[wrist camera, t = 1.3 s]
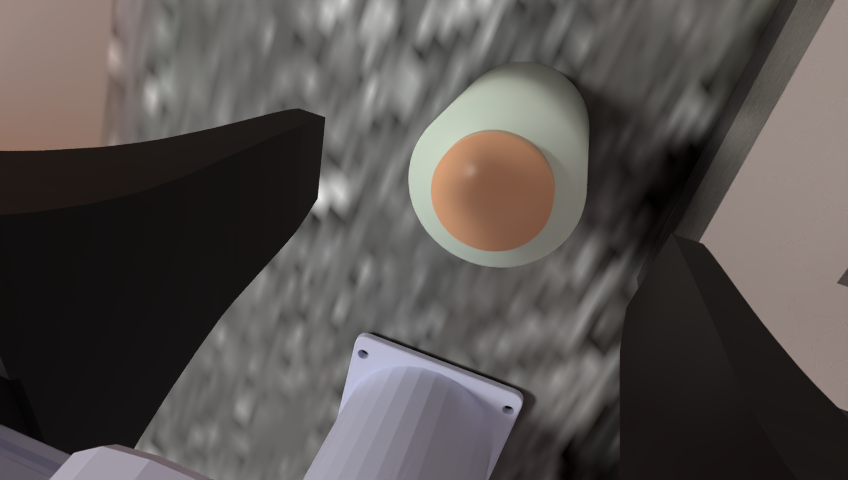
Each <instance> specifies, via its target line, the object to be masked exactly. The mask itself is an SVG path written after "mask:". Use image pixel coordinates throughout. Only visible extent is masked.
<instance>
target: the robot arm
mask: <svg viewBox="0 0 848 480" xmlns="http://www.w3.org/2000/svg"><path fill="white" fill-rule="evenodd" d="M324 125H325V117H323V116H320V115H317V114H314V113H311V112H308V111H305V110H302V109H299V108H298V109H290V110H285V111H280V112H276V113H271V114H267V115H263V116H259V117H256V118H252V119H248V120H244V121H240V122H236V123H232V124H228V125H224V126H220V127H216V128H212V129H207V130H203V131H198V132H193V133H188V134H184V135H179V136H174V137H170V138H164V139H159V140H153V141H146V142H140V143H132V144H124V145H116V146H107V147H95V148H80V149H79V148H78V149H63V150H45V151H0V480H214V479H211V478H209V477H207V476H204V475H202V474H200V473H197V472H195V471H193V470H190V469H188V468H186V467H183V466H181V465H179V464H176V463H174V462H172V461H169V460H167V459H165V458H162V457H160V456H157V455H153V454H150V453H146V452H143V451H139V450H135V449H134V448H135V446H136V444H137V443H138V441H139V439H140V437H141V436H142V434H143V433H144V431H145V429H146V428H147V426H148V425H149V423H150V422H151V420H152V418H153V417H154V415H155V414H156V412H157V410H158V409H159V407H160V406H161V404H162V402H163V401H164V399H165V398H166V396H167V395H168V393H169V391H170V390H171V388H172V387H173V385H174V384H175V382H176V381H177V379H178V378H179V376H180V375H181V373H182V372H183V370H184V369H185V368H186V366H187V365H188V363H189V362H190V360H191V359H192V357H193V356H194V354H195V353H196V351H197V350H198V348H199V347H200V346H201V344H202V343H203V341H204V340H205V339H206V337H207V336H208V334H209V333H210V332H211V330H212V329H213V327H214V326H215V325H216V323H217V322H218V320H219V319H220V318H221V316H222V315H223V314H224V313H225V311H226V310H227V309H228V308H229V307H230V305H231V304H232V303H233V302H234V300H235V299H236V298H237V297H238V296H239V295H240V294H241V293H242V292H243V291H244V289H245V288H246V287H247V286H248V285H249V284H250V283H251V282H252V281H253V279H254V278H255V277H256V276H257V275H258V274H259V273H260V272H261V271H262V270H263V268H264V267H265V266H266V265H267V264H268V263H269V262H270V261H271V260H272V258H273V257H274V256H275V255H276V254H277V253H278V252H279V251H280V249H281V248H282V247H283V246H284V245H285V244H286V243H287V242H288V240H289V239H290V238H291V237H292V236H293V235H294V233H295V232H296V231H297V229H298V228H299V226H300V225H301V223H302V222H303V221H304V219H305V218H306V216H307V214H308V213H309V211H310V210H311V208H312V206H313V205H314V203H315V202H316V200H317V198H318V188H319V177H320V167H321V157H322V146H323V136H324ZM362 350H365V351H366V352H367V353H368V354H365V353H363V352H362ZM523 399H524V398H523V395H522V393H521V392H520V391H518V390H516V389H514V388H511V387H509V386H506V385H503V384H501V383H498V382H496V381H493V380H490V379H488V378H485V377H482V376H480V375H477V374H475V373H472V372H469V371H467V370H464V369H461V368H459V367H456V366H454V365H451V364H448V363H446V362H443V361H440V360H438V359H435V358H433V357H430V356H427V355H425V354H422V353H419V352H417V351H414V350H412V349H409V348H406V347H404V346H401V345H398V344H396V343H393V342H391V341H388V340H385V339H383V338H380V337H377V336H375V335H372V334H369V333H362V334H360V335H359V336H358V338H357V340H356V342H355V346H354V350H353V354H352V358H351V363H350V367H349V371H348V376H347V380H346V384H345V388H344V393H343V397H342V401H341V405H340V410H339V414H338V418H337V420H336V422H335V424H334V426H333V427H332V429H331V431H330V433H329V434H328V436H327V438H326V440H325V441H324V443H323V445H322V447H321V448H320V450H319V452H318V454H317V456H316V457H315V459H314V461H313V463H312V464H311V466H310V468H309V470H308V471H307V473H306V475H305V477H304V479H303V480H489V478H490V475H491V473H492V471H493V469H494V467H495V464H496V462H497V460H498V458H499V456H500V453H501V451H502V449H503V447H504V445H505V443H506V440H507V438H508V436H509V434H510V432H511V429H512V427H513V425H514V423H515V421H516V419H517V416H518V414H519V412H520V410H521V408H522V405H523ZM504 406H510V407H512V409H507V408H506V407H504ZM618 480H848V417H847V416H846V415H845V414H844V413H843V412H842V411H841V410H840V409H839V408H838V407H837V406H836V405H835V404H834V403H833V402H832V401H831V400H830V399H829V398H828V397H827V396H826V395H825V394H824V393H823V392H822V391H821V390H820V389H819V388H818V387H817V386H816V385H815V384H814V383H813V382H812V380H811V379H810V378H809V377H808V376H807V375H806V374H805V373H804V372H803V371H802V369H801V368H800V367H799V366H798V365H797V364H796V363H795V361H794V360H793V359H792V358H791V357H790V355H789V354H788V353H787V352H786V351H785V350H784V348H783V347H782V346H781V345H780V344H779V342H778V341H777V340H776V339H775V338H774V336H773V335H772V334H771V333H770V331H769V330H768V329H767V328H766V326H765V325H764V324H763V322H762V321H761V320H760V319H759V317H758V316H757V315H756V313H755V312H754V311H753V309H752V308H751V307H750V305H749V304H748V303H747V301H746V300H745V299H744V297H743V296H742V294H741V293H740V292H739V290H738V289H737V288H736V286H735V285H734V283H733V282H732V281H731V279H730V278H729V276H728V275H727V274H726V272H725V271H724V270H723V268H722V267H721V265H720V264H719V263H718V261H717V260H716V259H715V257H714V256H713V255H712V253H711V252H710V251H709V250H708V249H707V247H706V246H705V245H704V244H702V243H699V242H696V241H693V240H690V239H687V238H684V237H681V236H678V235H675V234H672V233H671V234H670V236H669V238H668V239H667V241H666V243H665V244H664V246H663V248H662V249H661V251H660V253H659V254H658V256H657V258H656V259H655V261H654V263H653V264H652V266H651V268H650V270H649V271H648V273H647V275H646V276H645V278H644V280H643V281H642V283H641V285H640V286H639V288H638V290H637V291H636V293H635V295H634V296H633V298H632V300H631V301H630V303H629V305H628V307H627V309H626V315H625V321H624V327H623V333H622V340H621V348H620V461H619V477H618Z"/></svg>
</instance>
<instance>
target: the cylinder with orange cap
mask: <svg viewBox="0 0 848 480" xmlns="http://www.w3.org/2000/svg"><path fill="white" fill-rule="evenodd" d="M589 127H590V125H589V116H588V112H587V108H586V105H585V102H584V100H583V98H582V96H581V94H580V93H579V91H578V90H577V89H576V87H575V86H574V85H573V84H572V83H571V82H570V81H569V80H568V79H567V78H566V77H565V76H564V75H562V74H561V73H560V72H558V71H556V70H554V69H552V68H550V67H547V66H545V65H542V64H538V63H533V62H513V63H507V64H504V65H500V66H497V67H495V68H493V69H491V70H489V71H487V72H486V73H484V74H483V75H481V76H480V77H479V78H478V79H477V80H476V81H474V82H473V83H472V84H471V85H470V86H469V87H468V88H467V89H466V90H465V91H464V92H463V93H462V94H461V95H460V96H459V97H458V98H457V99H456V100H455V101H454V102H453V103H452V104H451V105H450V106H449V107H448V108H447V109H446V110H445V111H444V112H443V113H442V114H441V115H440V116H439V117H438V118H436V119H435V120H434V121H433V122H432V124H431V125H430V126H429V127H428V128H427V129H426V130H425V132H424V133H423V135H422V136H421V138H420V139H419V141H418V143H417V145H416V147H415V149H414V152H413V155H412V158H411V162H410V168H409V192H410V196H411V201H412V204H413V207H414V210H415V212H416V214H417V216H418V218H419V220H420V222H421V223H422V225H423V226H424V228H425V229H426V231H427V232H428V233H429V234H430V235H431V237H432V238H433V239H434V240H435V241H436V242H438V243H439V244H440V245H441V246H442V247H443V248H445V249H446V250H448V251H449V252H450V253H452V254H454V255H456V256H458V257H459V258H462V259H464V260H466V261H469V262H472V263H475V264H479V265H483V266H489V267H514V266H520V265H524V264H528V263H531V262H534V261H536V260H538V259H541V258H543V257H545V256H546V255H548V254H550V253H551V252H553V251H554V250H555V249H557V248H558V247H559V246H560V245H562V244H563V242H564V241H565V240H566V239H567V238H568V237H569V236H570V235H571V233H572V232H573V230H574V229H575V228H576V226H577V224H578V222H579V220H580V218H581V215H582V212H583V209H584V206H585V201H586V195H587V173H588V150H589Z"/></svg>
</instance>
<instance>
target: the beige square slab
mask: <svg viewBox="0 0 848 480" xmlns="http://www.w3.org/2000/svg"><path fill="white" fill-rule="evenodd" d="M671 233H672V234H675V235H678V236H681V237H684V238H687V239H690V240H693V241H696V242H699V243H702V244H704V245H705V246H706V247H707V249H708V250H709V251H710V252H711V253H712V255H713V256H714V257H715V259H716V260H717V261H718V263H719V264H720V265H721V267H722V268H723V270H724V271H725V272H726V274H727V275H728V276H729V278H730V279H731V281H732V282H733V283H734V285H735V286H736V288H737V289H738V290H739V292H740V293H741V294H742V296H743V297H744V299H745V300H746V301H747V303H748V304H749V305H750V307H751V308H752V309H753V311H754V312H755V313H756V315H757V316H758V317H759V319H760V320H761V321H762V322H763V324H764V325H765V326H766V328H767V329H768V330H769V331H770V333H771V334H772V335H773V336H774V338H775V339H776V340H777V341H778V342H779V344H780V345H781V346H782V347H783V348H784V350H785V351H786V352H787V353H788V354H789V355H790V357H791V358H792V359H793V360H794V361H795V363H796V364H797V365H798V366H799V367H800V368H801V369H802V371H803V372H804V373H805V374H806V375H807V376H808V377H809V378H810V379H811V380H812V382H813V383H814V384H815V385H816V386H817V387H818V388H819V389H820V390H821V391H822V392H823V393H824V394H825V395H826V396H827V397H828V398H829V399H830V400H831V401H832V402H833V403H834V404H835V405H836V406H837V407H838V408H841V409H843V410H846V411H848V0H781V1H780V3H779V5H778V6H777V8H776V10H775V12H774V14H773V16H772V18H771V20H770V22H769V24H768V26H767V28H766V30H765V32H764V34H763V35H762V37H761V39H760V41H759V43H758V45H757V47H756V49H755V51H754V53H753V55H752V57H751V59H750V61H749V63H748V64H747V66H746V68H745V70H744V72H743V74H742V76H741V78H740V80H739V82H738V84H737V86H736V88H735V90H734V92H733V93H732V95H731V97H730V99H729V101H728V103H727V105H726V107H725V109H724V111H723V113H722V115H721V117H720V119H719V121H718V122H717V124H716V126H715V128H714V130H713V132H712V134H711V136H710V138H709V140H708V142H707V144H706V146H705V148H704V149H703V151H702V153H701V155H700V157H699V159H698V161H697V163H696V165H695V167H694V169H693V171H692V173H691V175H690V177H689V178H688V180H687V182H686V184H685V186H684V188H683V190H682V192H681V194H680V196H679V198H678V200H677V202H676V204H675V206H674V207H673V209H672V211H671V213H670V215H669V217H668V219H667V221H666V223H665V225H664V227H663V229H662V231H661V233H660V235H659V236H658V238H657V240H656V242H655V244H654V246H653V248H652V250H651V252H650V254H649V256H648V258H647V260H646V262H645V264H644V265H643V267H642V269H641V271H640V273H639V275H638V277H637V281H638V288H639V286H640V285H641V283H642V281H643V280H644V278H645V276H646V275H647V273H648V271H649V270H650V268H651V266H652V264H653V263H654V261H655V259H656V258H657V256H658V254H659V253H660V251H661V249H662V248H663V246H664V244H665V243H666V241H667V239H668V238H669V236H670V234H671Z"/></svg>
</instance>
